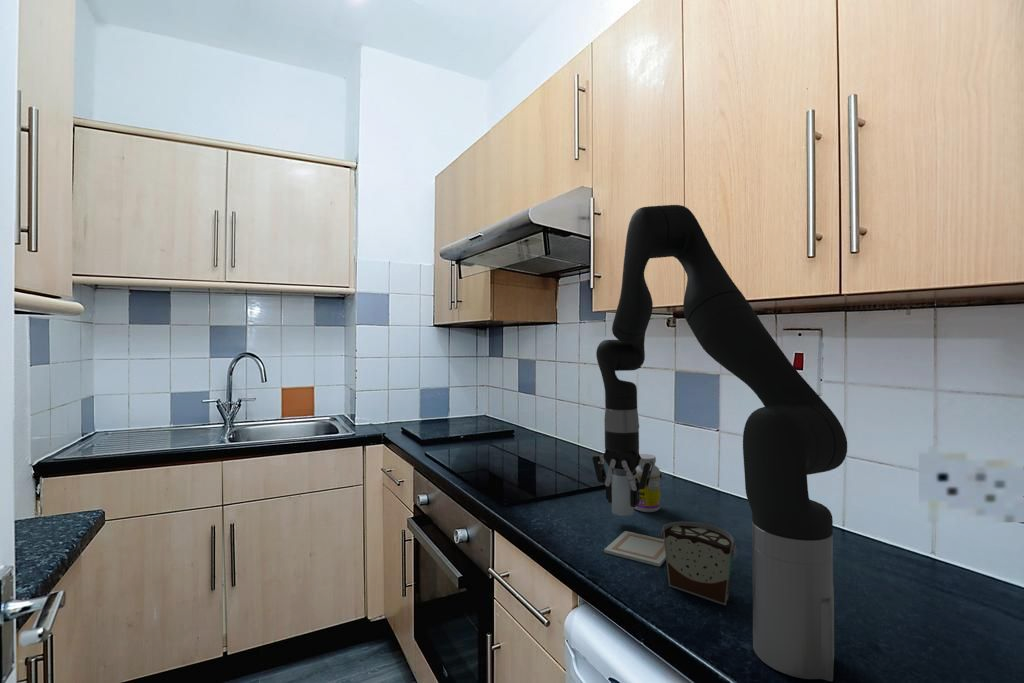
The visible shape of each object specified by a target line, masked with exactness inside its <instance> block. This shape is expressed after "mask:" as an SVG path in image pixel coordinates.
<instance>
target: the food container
mask: <svg viewBox="0 0 1024 683" xmlns="http://www.w3.org/2000/svg"><path fill="white" fill-rule="evenodd" d="M659 537H660V538H663V539H664V544H665V553H666V560H665V561H666V571H667V580H668V581H667V582H668V587H671V588H674V589H676V590H679V591H682V592H685V593H688V594H691V595H693V596H697V597H699V598H703V599H705V600H709V601H711V602H713V603H716V604H719V605H723V606H727V604H728V602H729V593H730V583H731V574H732V565H733V564H732V563H733V558H734V559H735V558H737V556H738V551H737V546H736V541H735V540H734V537H733V535H731V533H729V532H728V531H727V530H724V529H722V528H720V527H718V526H715V525H711V524H708V523H702V522H697V521H674V522H669V523H666V524H664V525H662V529H661V531H660V536H659Z"/></svg>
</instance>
